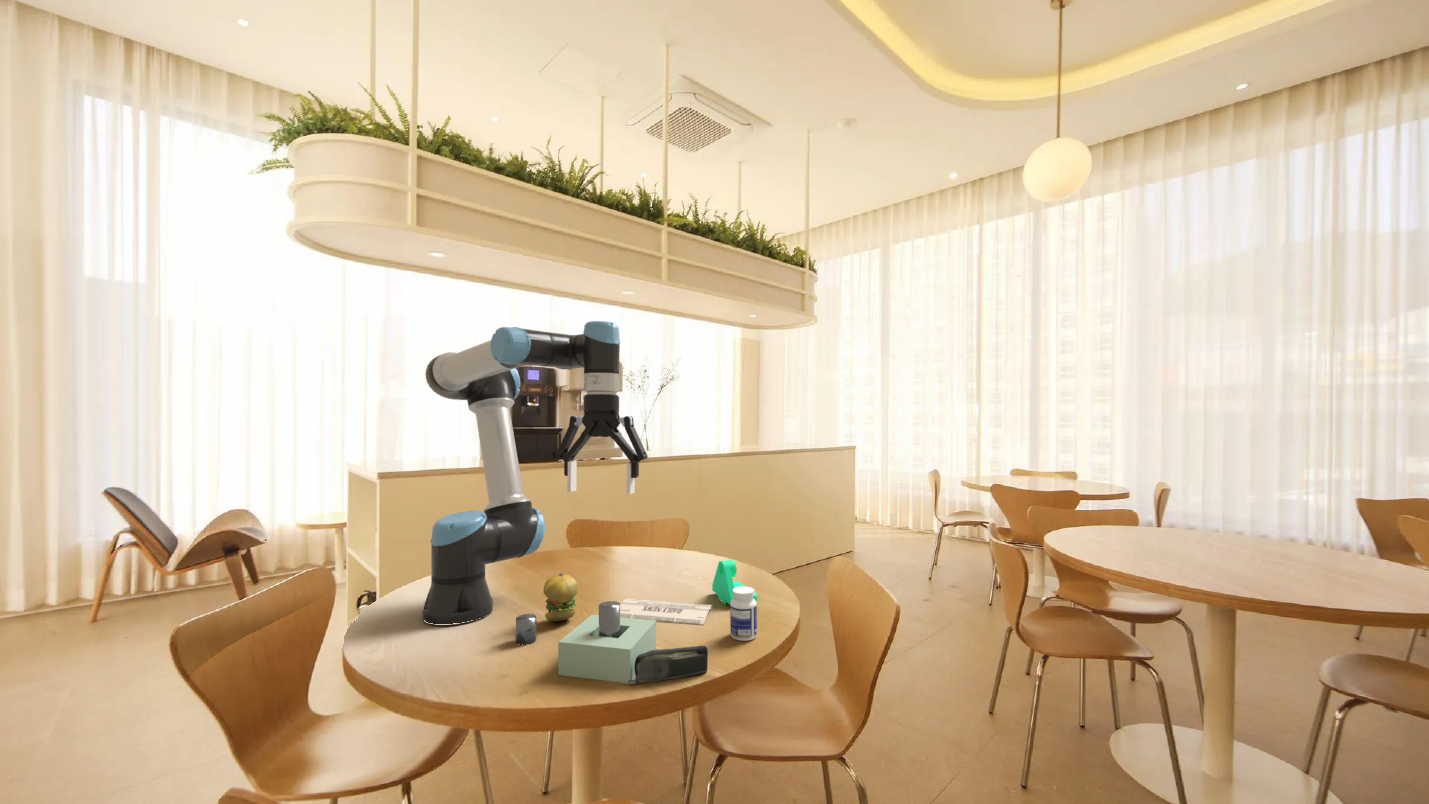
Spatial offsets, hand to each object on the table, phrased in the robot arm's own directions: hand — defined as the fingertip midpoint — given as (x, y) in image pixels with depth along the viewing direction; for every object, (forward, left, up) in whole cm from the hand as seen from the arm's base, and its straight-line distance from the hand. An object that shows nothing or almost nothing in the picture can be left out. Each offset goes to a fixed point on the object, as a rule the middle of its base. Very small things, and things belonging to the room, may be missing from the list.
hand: (600, 492), depth 119 cm
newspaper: (+9, +17, -32) cm, 37 cm away
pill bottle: (+30, +7, -31) cm, 44 cm away
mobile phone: (+20, -14, -31) cm, 39 cm away
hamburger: (-12, +5, -31) cm, 34 cm away
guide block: (+7, -11, -31) cm, 33 cm away
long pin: (+7, -11, -31) cm, 33 cm away
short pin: (-14, -6, -31) cm, 34 cm away
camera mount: (+24, +30, -31) cm, 49 cm away
